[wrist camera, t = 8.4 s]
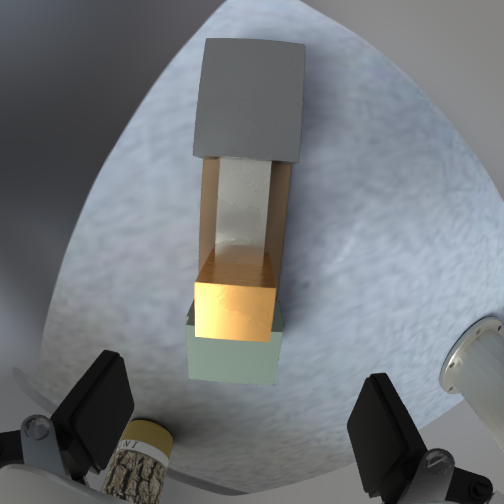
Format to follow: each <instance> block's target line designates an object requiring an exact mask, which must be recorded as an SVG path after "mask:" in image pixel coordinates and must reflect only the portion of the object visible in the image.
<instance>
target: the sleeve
mask: <svg viewBox="0 0 504 504" xmlns="http://www.w3.org/2000/svg"><path fill="white" fill-rule="evenodd" d="M304 68H305V45H304V44H297V43H289V42H281V41H271V40H258V39H237V38H206V42H205V49H204V55H203V62H202V70H201V77H200V85H199V94H198V103H197V112H196V122H195V133H194V145H193V156H196V157H199V158H202V159H205V160H216V158H217V157H225V158H242V159H256V160H269V161H278V164H279V165H291V164H295V163H299V152H300V138H301V124H302V108H303V89H304Z"/></svg>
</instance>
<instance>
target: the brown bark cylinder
mask: <svg viewBox="0 0 504 504" xmlns="http://www.w3.org/2000/svg"><path fill="white" fill-rule="evenodd" d="M172 447H173V438H172V436H171V434H170V433H169V432H168V431H167V430H166V429H165V428H163V427H162V426H160V425H158V424H156V423H153V422H150V421H146V420H134V421H132V422H130V423H129V424H128V425H127V427H126V430H125V432H124V434H123V437H122V439H121V441H120V443H119V446H118V448H117V451H116V453H115V456H114V458H113V460H112V463H111V465H110V468H109V470H108V473H107V475H106V478H105V481H104V483H103V486H102V488H101V491H100V492H102V493H105V494H108V495H110V496H113V497H116V498H119V499H122V500H125V501H128V502H131V503H134V504H159V501H160V497H161V492H162V488H163V484H164V479H165V476H166V471H167V467H168V463H169V459H170V455H171V451H172Z"/></svg>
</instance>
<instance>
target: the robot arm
mask: <svg viewBox="0 0 504 504" xmlns="http://www.w3.org/2000/svg"><path fill="white" fill-rule="evenodd" d="M440 384H441V387H442V388H443V389H444V391H445V392H447V393H449V394H456V393H461V394H462V396H463V397H464V398H465V400H466V401H467V402H468V404H469V405H470V406H471V408H472V409H473V410H474V411H475V413H476V414H477V416H478V417H479V418H480V420H481V421H482V422H483V424H484V425H485V427H486V428H487V429H488V431H489V432H490V434H491V435H492V436H493V438H494V439H495V441H496V442H497V444H498V445H499V447H500V448H501V449H502V451H503V453H504V326H503V324H502V322H501V321H500V320H498V319H497V318H495V317H487V318H484V319H482V320H480V321H479V322H477V323H476V324H474V325H473V326H472V327H471V328H469V329H468V330H467V331H466V332H465V333H464V334H463V336H462V337H461V338H460V339H459V340H458V342H457V343H456V344H455V346H454V347H453V348H452V350H451V352H450V353H449V355H448V357H447V359H446V361H445V363H444V365H443V368H442V370H441V375H440ZM133 411H134V401H133V397H132V393H131V390H130V386H129V381H128V377H127V373H126V368H125V364H124V359H123V358H122V357H120V354H119V353H117V352H113V351H109V350H104V351H103V352H102V353H101V354H100V355H99V357H98V358H97V359H96V360H95V362H94V363H93V364H92V365H91V366H90V368H89V369H88V370H87V371H86V373H85V374H84V375H83V376H82V378H81V379H80V380H79V381H78V382H77V384H76V385H75V386H74V387H73V389H72V390H71V391H70V393H69V394H68V395H67V396H66V398H65V399H64V400H63V402H62V403H61V404H60V406H59V407H58V408H57V410H56V411H55V412H54V414H53V415H52V416H51V418H50V419H49V418H48V417H46V416H44V415H40V414H37V415H36V414H35V415H31V416H29V417H27V418H26V419H25V420H24V421H23V422H22V424H21V429H20V430H16V431H10V432H3V433H0V504H134V503H131V502H128V501H125V500H122V499H119V498H116V497H113V496H110V495H108V494H105V493H102V492H100V491H97V490H94V489H92V488H90V487H89V484H88V481H87V479H86V474H87V472H88V471H90V472H93V473H95V474H98V475H99V473H100V471H101V470H104V469H105V468H106V467H107V464H108V462H109V460H110V458H111V456H112V454H113V452H114V450H115V448H116V446H117V443H118V441H119V439H120V437H121V435H122V433H123V431H124V429H125V427H126V425H127V423H128V421H129V419H130V417H131V415H132V413H133ZM347 430H348V433H349V437H350V440H351V444H352V447H353V451H354V455H355V458H356V462H357V466H358V469H359V473H360V477H361V481H362V484H363V488H364V491H365V492H366V493H369V497H370V498H372V497H377V496H381V498H382V501H383V502H382V503H381V504H504V495H503V494H501V493H500V492H498V491H495V492H493V486H492V483H491V481H490V480H489V479H488V478H486V477H484V476H481V475H478V474H475V473H472V472H469V471H466V470H463V469H460V468H457V467H455V461H454V458H453V456H452V455H451V454H450V453H449V452H448V451H446V450H444V449H440V448H434V449H431V450H427V448H426V446H425V444H424V442H423V440H422V438H421V436H420V434H419V432H418V430H417V428H416V426H415V424H414V422H413V420H412V418H411V416H410V415H409V413H408V411H407V409H406V407H405V405H404V404H403V403H402V401H401V399H400V397H399V395H398V393H397V392H396V390H395V388H394V386H393V384H392V382H391V381H390V379H389V377H388V375H387V374H386V373H375V374H371V375H370V377H368V378H366V380H365V382H364V384H363V387H362V389H361V392H360V394H359V397H358V399H357V402H356V404H355V406H354V408H353V411H352V413H351V415H350V417H349V420H348V422H347Z"/></svg>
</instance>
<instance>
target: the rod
mask: <svg viewBox="0 0 504 504" xmlns="http://www.w3.org/2000/svg"><path fill="white" fill-rule="evenodd" d="M271 162H272V161H269V160H256V159H242V158H225V157H220V170H219V185H218V201H217V220H216V240H215V249H212V250H211V252H210V254H209V256H208V258H207V260H206V262H205V264H204V266H203V267H202V269H201V271H200V273H199V275H198V277H197V279H196V281H195V336H196V337H206V338H216V339H228V340H241V341H257V342H270V336H271V328H272V320H273V312H274V304H275V295H276V284H275V280H274V275H273V270H272V265H271V261H270V256H269V253H264V245H265V234H266V222H267V211H268V199H269V187H270V174H271Z"/></svg>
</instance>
